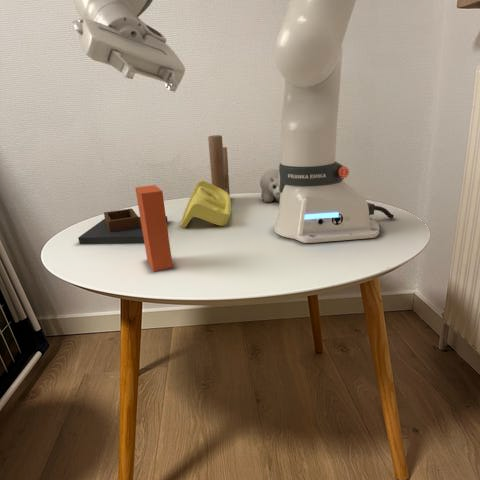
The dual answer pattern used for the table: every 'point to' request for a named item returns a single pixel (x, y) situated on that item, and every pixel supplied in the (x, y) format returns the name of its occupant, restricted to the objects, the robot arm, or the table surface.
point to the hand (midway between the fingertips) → (153, 81)
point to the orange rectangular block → (154, 227)
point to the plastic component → (208, 205)
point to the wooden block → (218, 163)
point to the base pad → (113, 236)
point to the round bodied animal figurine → (270, 185)
